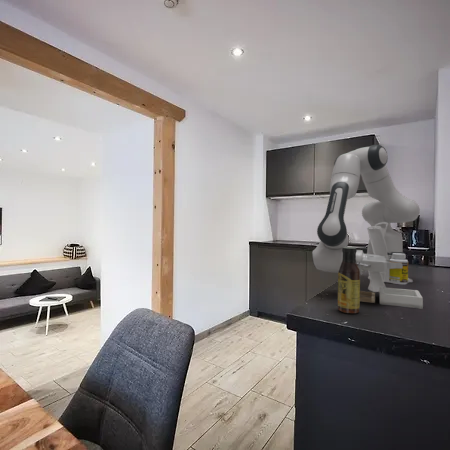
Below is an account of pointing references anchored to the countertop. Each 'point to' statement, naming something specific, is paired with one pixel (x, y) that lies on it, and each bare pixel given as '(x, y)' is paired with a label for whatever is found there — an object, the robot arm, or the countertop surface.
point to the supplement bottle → (399, 274)
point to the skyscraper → (377, 248)
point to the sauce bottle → (349, 282)
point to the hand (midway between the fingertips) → (401, 264)
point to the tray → (401, 297)
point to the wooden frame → (367, 299)
